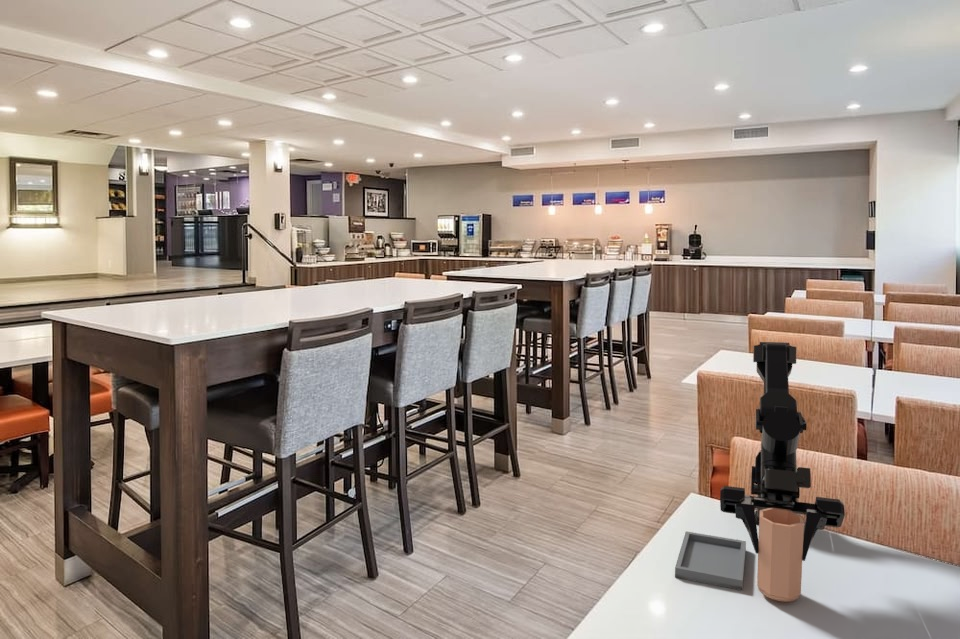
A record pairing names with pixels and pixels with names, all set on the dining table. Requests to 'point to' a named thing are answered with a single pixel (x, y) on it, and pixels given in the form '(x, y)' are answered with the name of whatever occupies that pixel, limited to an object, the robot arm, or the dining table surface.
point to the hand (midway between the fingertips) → (780, 556)
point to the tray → (712, 560)
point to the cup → (780, 554)
